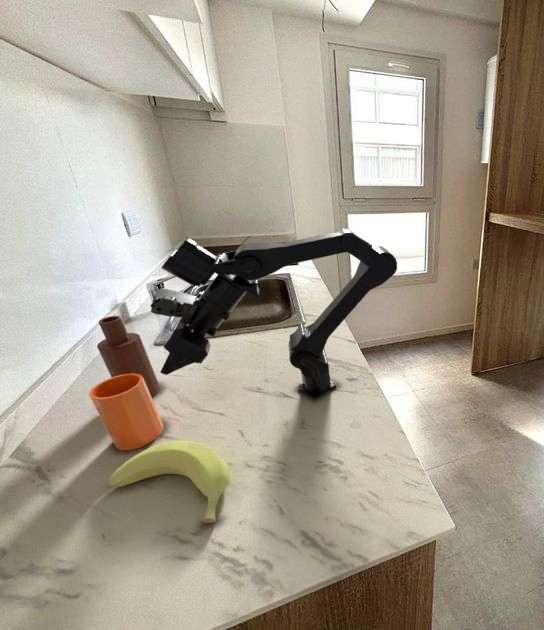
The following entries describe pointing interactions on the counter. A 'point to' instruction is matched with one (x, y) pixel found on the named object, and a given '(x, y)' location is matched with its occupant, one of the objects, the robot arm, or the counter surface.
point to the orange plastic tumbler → (127, 411)
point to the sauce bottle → (125, 353)
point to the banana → (179, 469)
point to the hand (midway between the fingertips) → (169, 360)
